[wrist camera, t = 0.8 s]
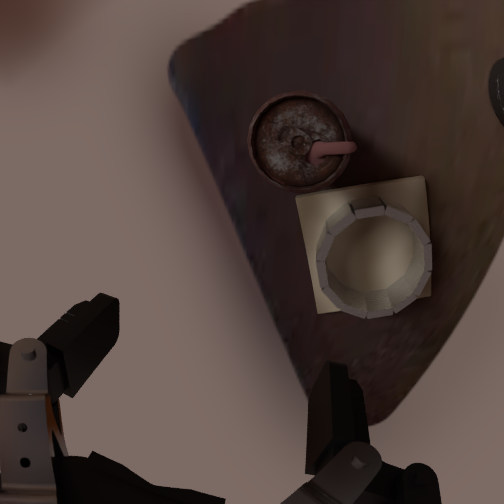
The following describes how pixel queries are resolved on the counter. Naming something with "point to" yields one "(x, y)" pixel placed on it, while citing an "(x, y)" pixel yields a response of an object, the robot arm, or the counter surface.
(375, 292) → the collar
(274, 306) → the counter surface
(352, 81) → the counter surface
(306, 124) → the can
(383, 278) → the stand
